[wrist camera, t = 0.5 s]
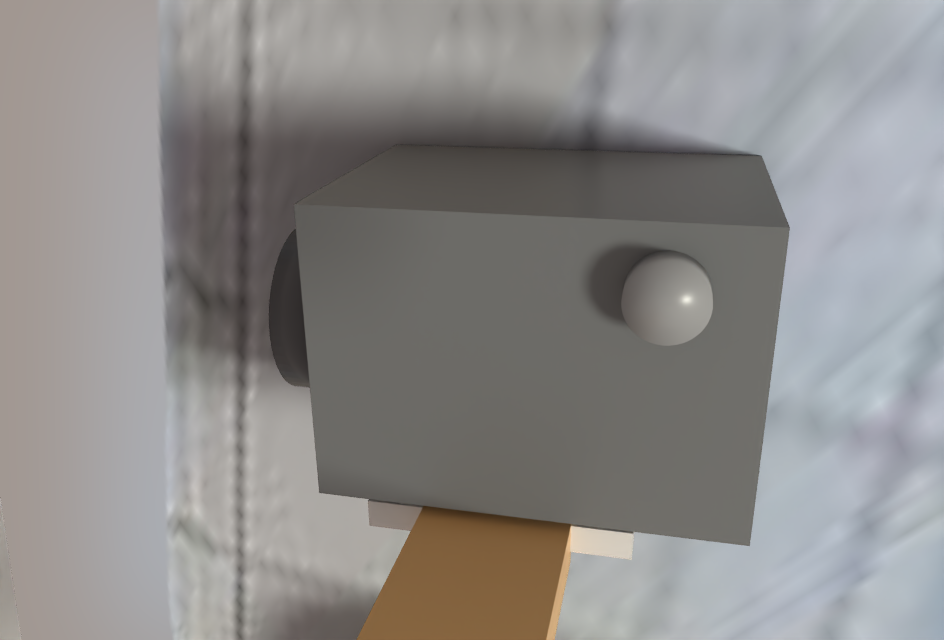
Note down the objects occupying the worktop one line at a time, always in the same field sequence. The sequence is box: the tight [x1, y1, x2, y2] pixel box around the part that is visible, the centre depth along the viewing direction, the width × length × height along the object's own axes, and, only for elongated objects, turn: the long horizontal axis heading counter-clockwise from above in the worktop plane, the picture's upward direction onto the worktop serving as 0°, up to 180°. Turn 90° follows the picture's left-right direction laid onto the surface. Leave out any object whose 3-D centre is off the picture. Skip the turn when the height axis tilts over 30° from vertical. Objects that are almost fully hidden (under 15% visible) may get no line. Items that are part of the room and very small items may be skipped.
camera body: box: [269, 145, 790, 546], centre depth 31 cm, size 16×10×11 cm, turn 91°
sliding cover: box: [357, 499, 634, 640], centre depth 28 cm, size 9×2×18 cm, turn 91°
